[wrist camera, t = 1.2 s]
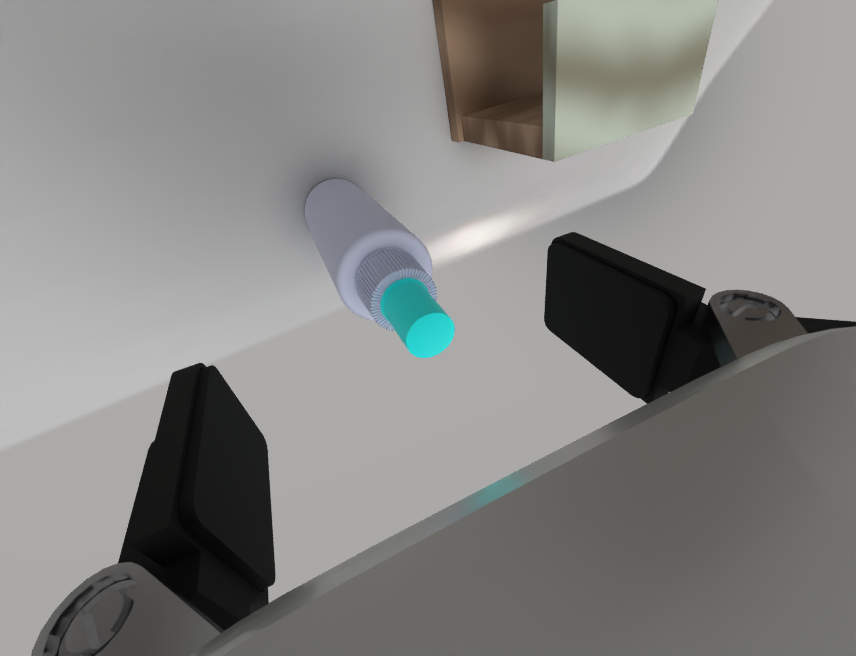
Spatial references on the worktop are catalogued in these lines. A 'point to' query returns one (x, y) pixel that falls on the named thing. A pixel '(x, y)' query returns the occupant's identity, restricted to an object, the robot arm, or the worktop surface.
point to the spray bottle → (378, 266)
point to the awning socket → (568, 69)
